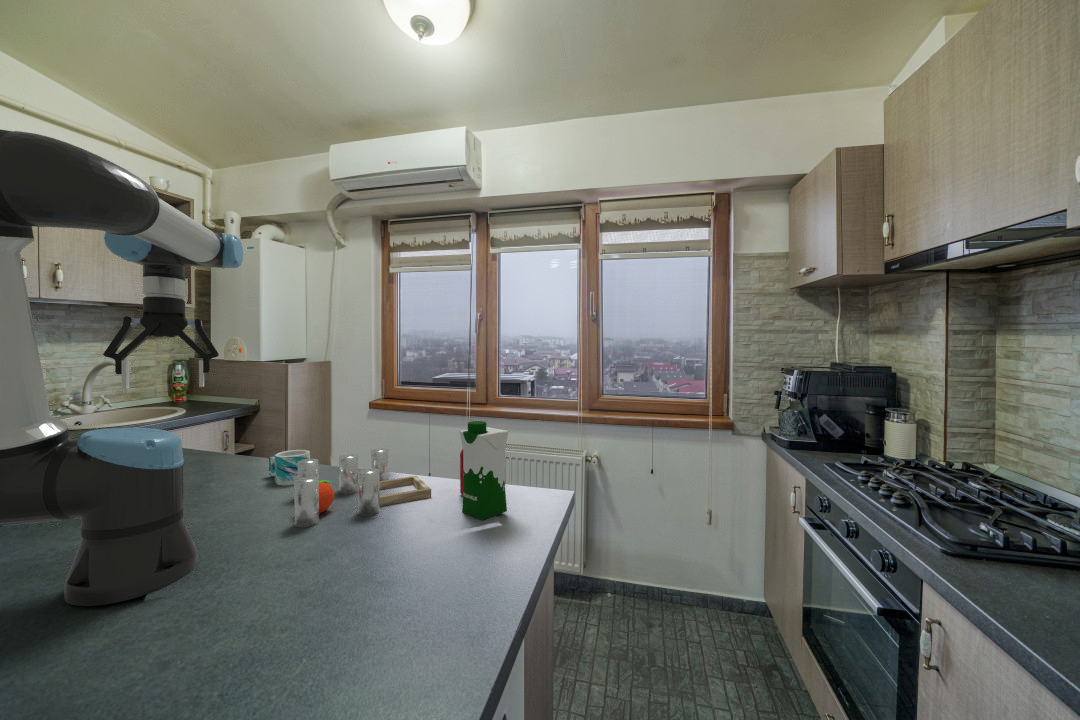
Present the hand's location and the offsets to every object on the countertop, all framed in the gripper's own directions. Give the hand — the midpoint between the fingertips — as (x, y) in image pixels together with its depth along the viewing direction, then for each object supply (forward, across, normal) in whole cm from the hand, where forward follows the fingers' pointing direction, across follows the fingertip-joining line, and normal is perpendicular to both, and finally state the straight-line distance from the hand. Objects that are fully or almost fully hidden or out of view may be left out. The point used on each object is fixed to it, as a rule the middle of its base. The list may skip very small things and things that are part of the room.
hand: (165, 387), depth 101 cm
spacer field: (+27, -34, +24) cm, 50 cm away
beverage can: (+27, -63, +35) cm, 77 cm away
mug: (+27, -25, -1) cm, 37 cm away
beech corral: (+27, -47, +24) cm, 59 cm away
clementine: (+27, -30, +27) cm, 49 cm away
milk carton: (+28, -60, +47) cm, 81 cm away
